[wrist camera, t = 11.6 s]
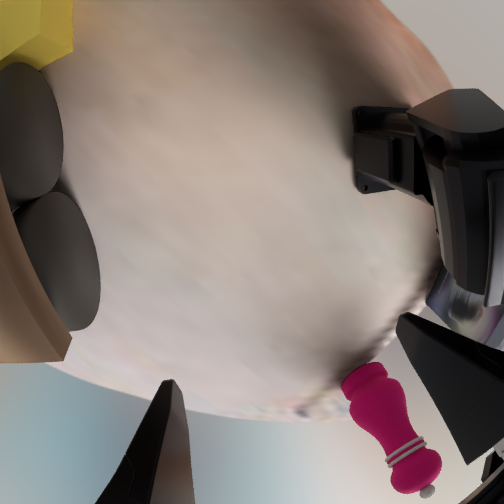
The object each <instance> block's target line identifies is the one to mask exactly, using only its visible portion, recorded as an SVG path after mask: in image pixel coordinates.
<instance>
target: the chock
mask: <svg viewBox="0 0 504 504" xmlns="http://www.w3.org/2000/svg"><path fill="white" fill-rule="evenodd" d="M72 10H73V0H0V70H1V69H3V68H4V67H6V66H7V65H9V64H12V63H15V62H22V63H26V64H29V65H31V66H33V67H34V68H35V69H36V70H39V69H41V68H43V67H45V66H46V65H48V64H50V63H52V62H54V61H55V60H57V59H59V58H61V57H63V56H65V55H67V54H69V53H71V52H73V51H74V46H73V19H72Z"/></svg>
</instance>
